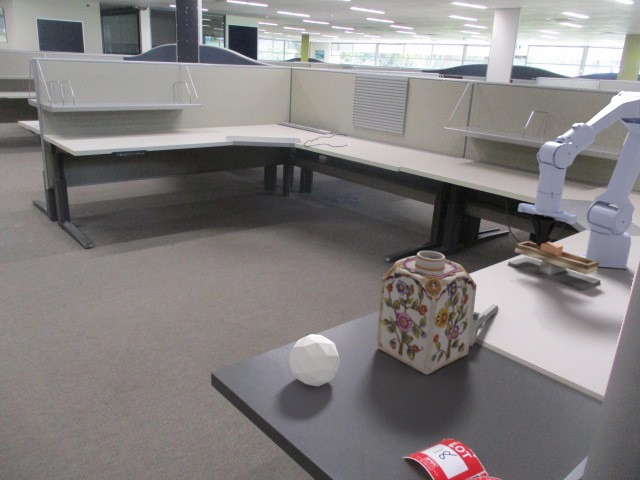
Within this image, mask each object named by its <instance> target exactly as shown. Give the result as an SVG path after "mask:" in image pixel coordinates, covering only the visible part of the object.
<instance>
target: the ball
mask: <svg viewBox="0 0 640 480" xmlns="http://www.w3.org/2000/svg"><path fill="white" fill-rule="evenodd" d="M288 363H289V367H290V369H291V370H290V371H291V372H292V375H293V377H294V378H295V379H297V380H298V381H300V382H302V383H304V384H305V385H307V386H313V387H320V386H323V385H325V384H327V383H329V382H331V381H332V379H333V378H334V377H335V375H336V374H337V373H338V371H339V370H340V356H339V352H338V349H337V346H336V344H335V342H333V340H331V339H329V338H327V337H325V336H323V335H322V334H315V333H310V334H309V335H306V336H304V337H302V338H300V339H298V340H297V341H296V343H295V344H294V346H293V347H292V348H291V350H290V353H289V359H288Z"/></svg>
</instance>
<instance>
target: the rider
mask: <svg viewBox="0 0 640 480" xmlns="http://www.w3.org/2000/svg"><path fill="white" fill-rule="evenodd" d="M563 249H564V245H560V244H557V243H554V242H550V241H547V242H546V243H542V244H541V249H540V251H544V252H547V253H550V254H554V255H557V256H562V251H563Z"/></svg>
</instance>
